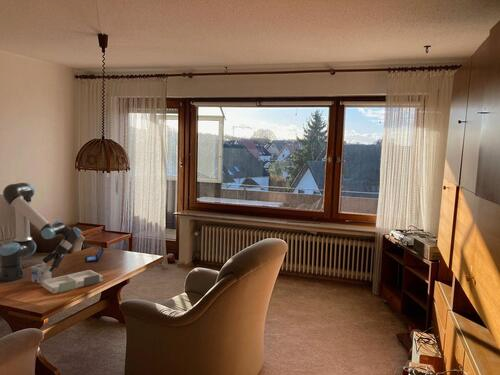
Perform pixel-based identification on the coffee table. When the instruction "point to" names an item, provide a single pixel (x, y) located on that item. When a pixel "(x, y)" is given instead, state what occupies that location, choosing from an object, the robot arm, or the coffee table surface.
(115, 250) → the coffee table surface
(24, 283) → the coffee table surface
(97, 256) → the handheld game console
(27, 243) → the robot arm
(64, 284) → the tagged dock
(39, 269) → the light bulb box
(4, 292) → the coffee table surface
